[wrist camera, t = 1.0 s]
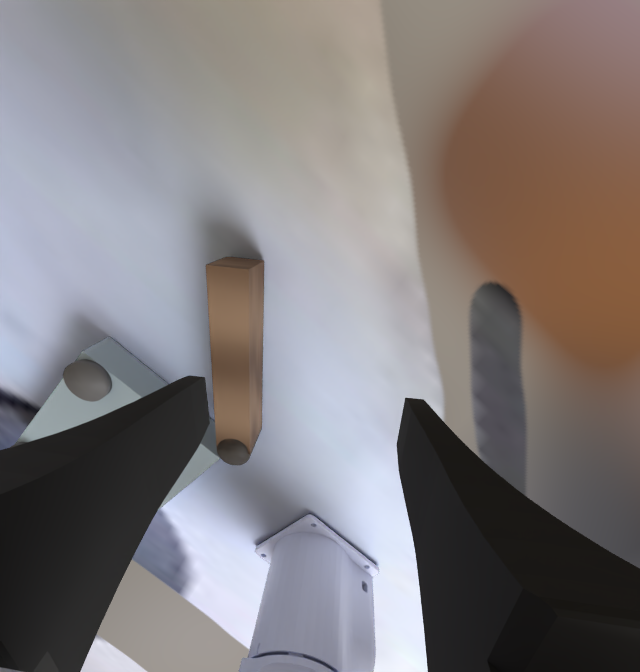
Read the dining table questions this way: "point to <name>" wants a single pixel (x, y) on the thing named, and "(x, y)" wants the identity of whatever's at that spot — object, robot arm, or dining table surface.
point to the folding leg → (236, 353)
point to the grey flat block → (109, 401)
